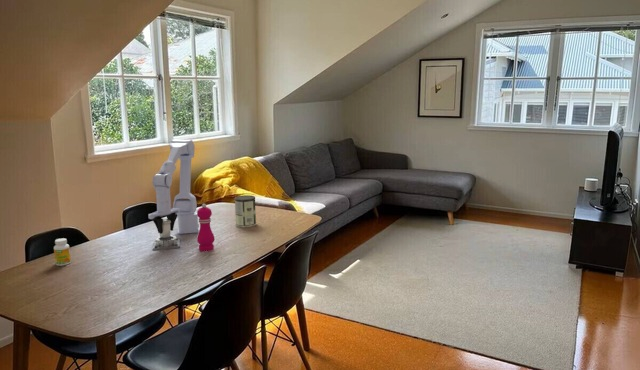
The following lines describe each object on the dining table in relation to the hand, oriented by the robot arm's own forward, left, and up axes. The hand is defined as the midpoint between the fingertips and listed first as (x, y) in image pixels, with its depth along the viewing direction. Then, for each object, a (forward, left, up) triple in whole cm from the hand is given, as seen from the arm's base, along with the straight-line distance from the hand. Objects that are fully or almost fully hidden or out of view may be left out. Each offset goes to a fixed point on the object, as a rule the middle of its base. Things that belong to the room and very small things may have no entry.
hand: (165, 231), depth 211 cm
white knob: (0, 0, -2) cm, 2 cm away
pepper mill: (-17, +10, -6) cm, 21 cm away
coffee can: (-38, -24, -6) cm, 45 cm away
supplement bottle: (+38, +12, -6) cm, 41 cm away
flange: (0, 0, -6) cm, 6 cm away
